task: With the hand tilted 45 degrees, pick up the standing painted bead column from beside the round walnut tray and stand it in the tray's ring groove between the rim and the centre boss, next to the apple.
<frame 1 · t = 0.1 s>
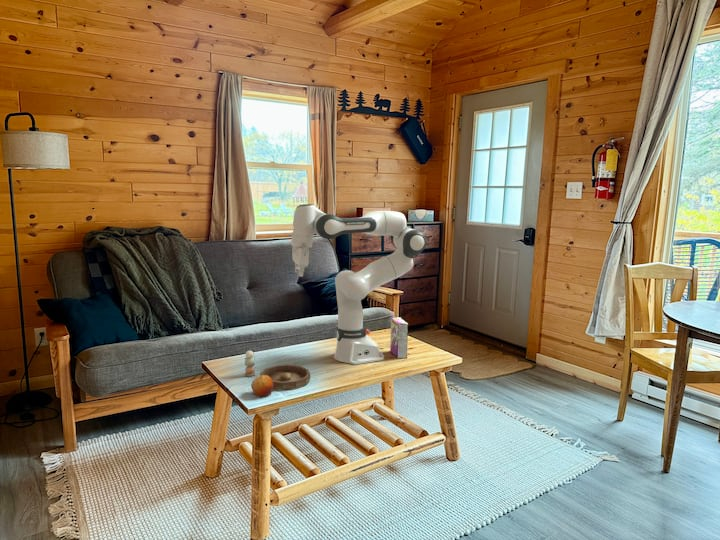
hand: (298, 274, 211), 39 cm above the table, tool pointing down, fingers open, 8 cm apart
fruit: (262, 394, 183), on the table
walnut tray: (285, 380, 196), on the table
bead column: (249, 375, 201), on the table
candy bar box: (398, 355, 230), on the table
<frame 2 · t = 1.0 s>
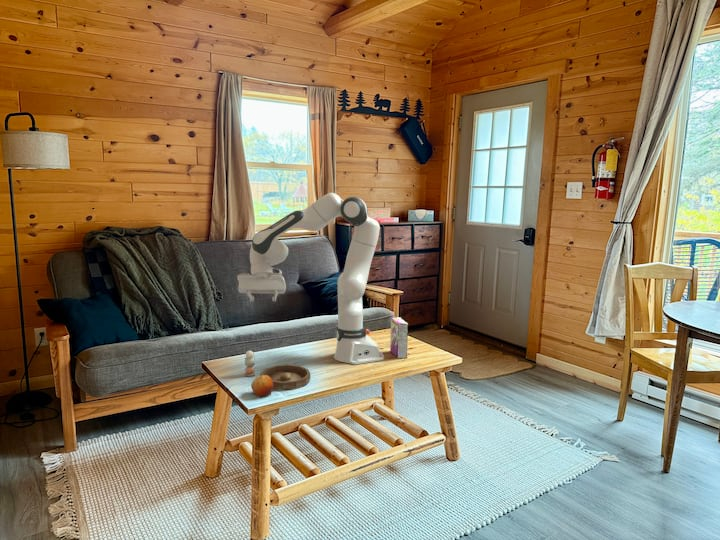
hand: (263, 300, 211), 27 cm above the table, tool tilted 45°, fingers open, 8 cm apart
nothing on the table moved.
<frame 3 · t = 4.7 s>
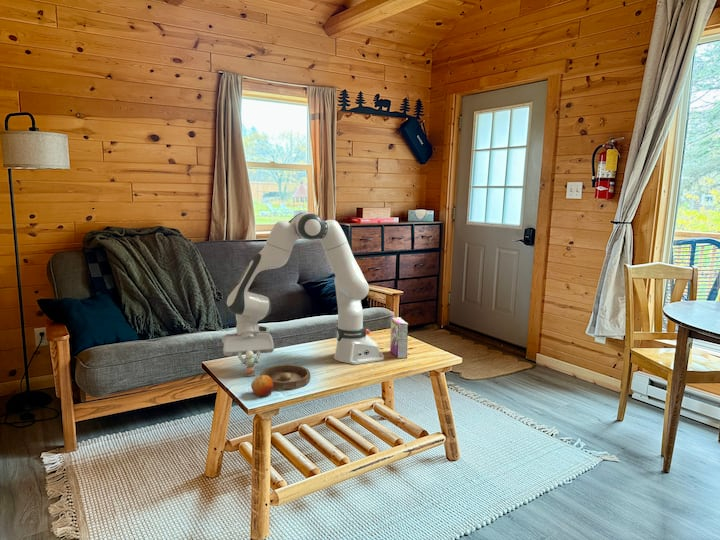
hand: (249, 363, 199), 5 cm above the table, tool tilted 45°, fingers closed on bead column, 4 cm apart
bead column: (249, 375, 201), on the table, touching gripper
everything else where it was.
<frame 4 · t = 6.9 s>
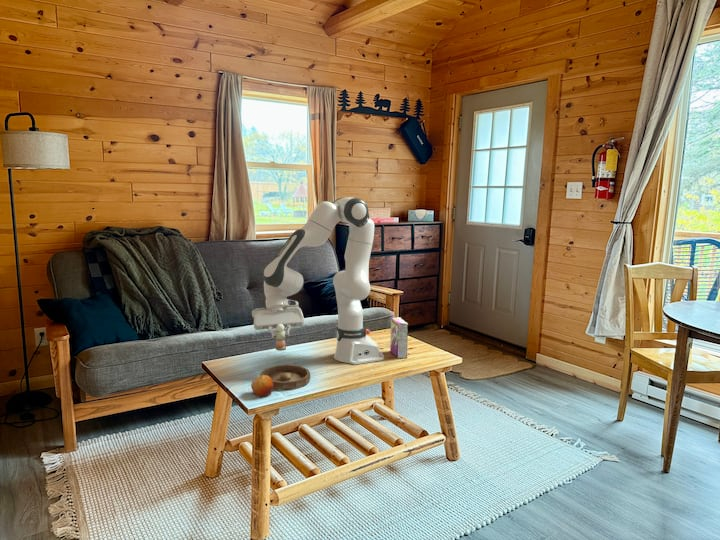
hand: (280, 336, 198), 17 cm above the table, tool tilted 45°, fingers closed on bead column, 4 cm apart
bead column: (280, 348, 199), point 11 cm above the table, touching gripper
everything else where it was.
when the fingers open (7 cm above the table, at t = 9.4 s): bead column stays where it is, resting on walnut tray.
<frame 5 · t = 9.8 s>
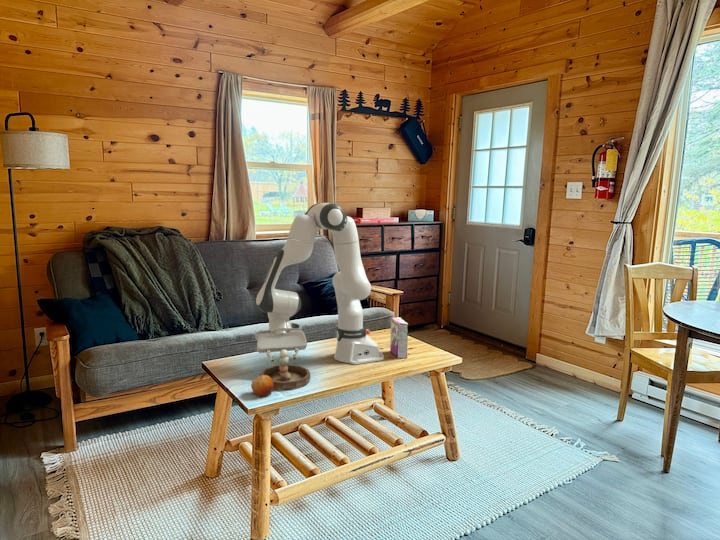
hand: (283, 360, 199), 7 cm above the table, tool tilted 45°, fingers open, 8 cm apart
bead column: (283, 374, 201), point 1 cm above the table, touching walnut tray
everything else where it was.
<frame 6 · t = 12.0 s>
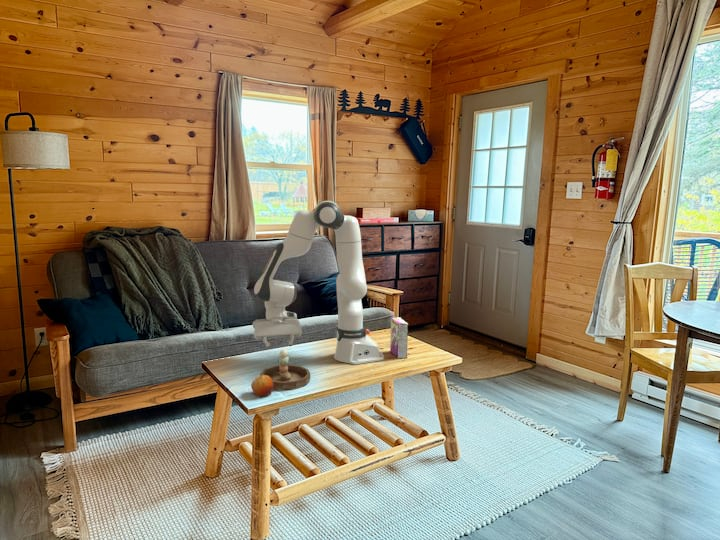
hand: (279, 346, 211), 9 cm above the table, tool tilted 45°, fingers open, 8 cm apart
nothing on the table moved.
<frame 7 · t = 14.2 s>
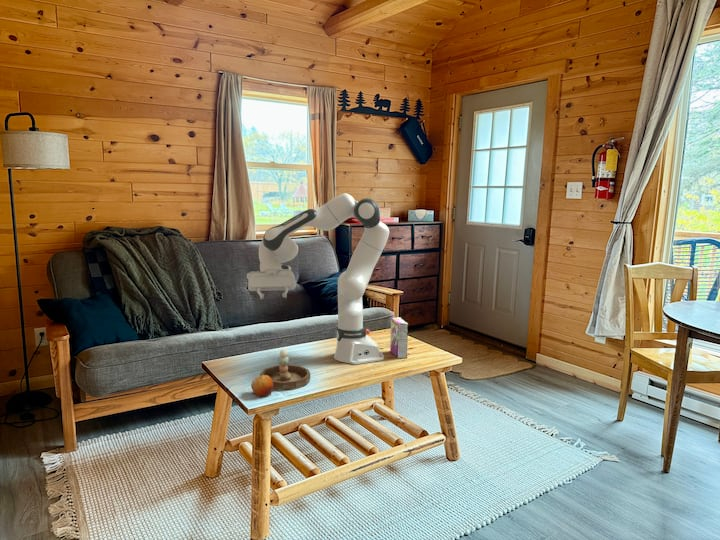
hand: (273, 297, 209), 29 cm above the table, tool tilted 45°, fingers open, 8 cm apart
nothing on the table moved.
at the end: bead column 5.2 cm from the walnut tray (horizontally); bead column point 0.6 cm above the table; bead column tilted 0° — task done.
